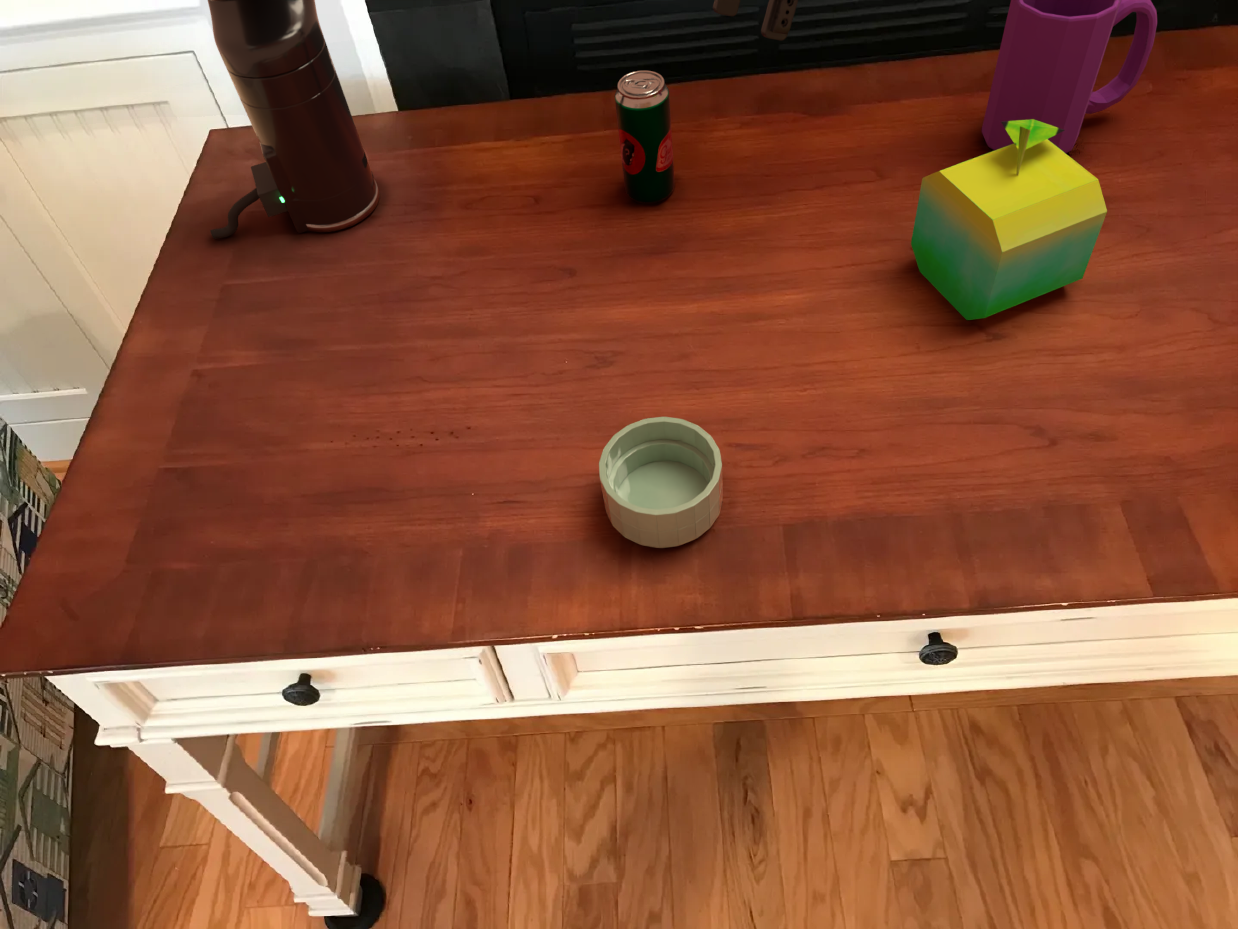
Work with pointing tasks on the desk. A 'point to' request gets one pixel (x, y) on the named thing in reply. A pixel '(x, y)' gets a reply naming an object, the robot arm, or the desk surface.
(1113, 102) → the mug
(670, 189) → the soda can
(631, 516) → the bowl
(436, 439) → the desk surface
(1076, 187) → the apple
